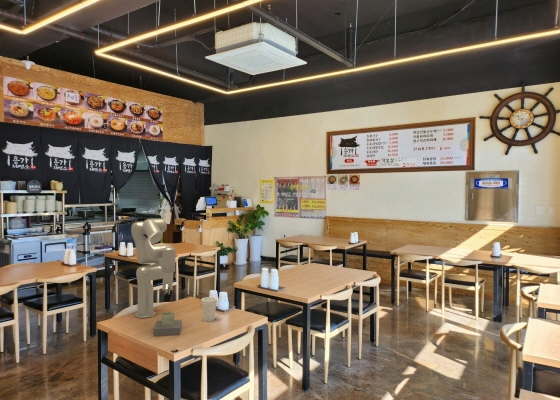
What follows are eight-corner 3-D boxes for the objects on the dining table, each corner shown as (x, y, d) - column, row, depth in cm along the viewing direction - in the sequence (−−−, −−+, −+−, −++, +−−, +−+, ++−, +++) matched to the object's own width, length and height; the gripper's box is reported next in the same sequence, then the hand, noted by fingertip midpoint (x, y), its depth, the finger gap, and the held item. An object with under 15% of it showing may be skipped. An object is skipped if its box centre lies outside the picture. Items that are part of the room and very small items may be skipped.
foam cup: (219, 319, 247) (220, 298, 247) (209, 323, 240) (209, 302, 239) (208, 316, 253) (209, 296, 252) (198, 320, 245) (198, 299, 245)
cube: (163, 322, 228) (163, 312, 228) (173, 322, 229) (174, 311, 229) (161, 326, 222) (162, 315, 222) (173, 325, 223) (173, 315, 223)
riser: (156, 327, 231) (156, 320, 231) (181, 326, 233) (181, 319, 233) (153, 336, 217) (153, 329, 217) (179, 334, 220) (179, 327, 220)
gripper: (163, 266, 232) (162, 295, 233) (159, 272, 215) (159, 303, 216) (176, 265, 234) (176, 294, 234) (174, 272, 217) (173, 303, 217)
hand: (168, 299), depth 225 cm, fingers open, 9 cm apart
